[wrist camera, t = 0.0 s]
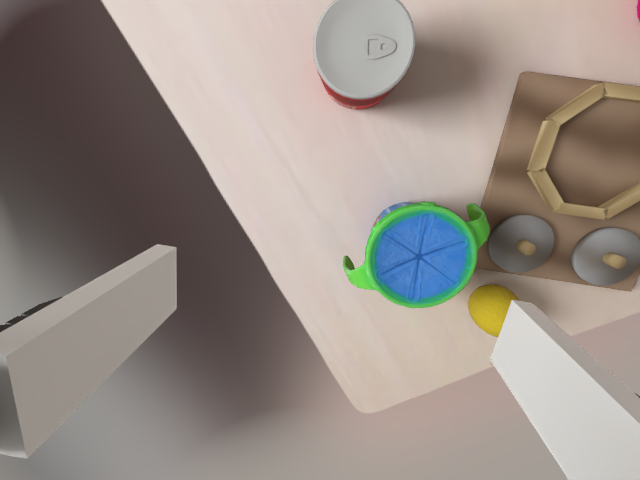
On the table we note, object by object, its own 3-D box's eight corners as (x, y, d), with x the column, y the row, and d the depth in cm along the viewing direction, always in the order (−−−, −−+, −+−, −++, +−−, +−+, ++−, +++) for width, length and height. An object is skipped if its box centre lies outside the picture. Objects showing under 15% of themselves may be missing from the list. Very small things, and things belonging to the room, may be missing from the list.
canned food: (402, 97, 36) (425, 80, 25) (333, 119, 37) (328, 112, 26) (386, 21, 33) (404, -32, 23) (313, 47, 35) (299, 8, 24)
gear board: (520, 73, 34) (539, 66, 31) (714, 98, 33) (754, 94, 30) (464, 263, 41) (474, 274, 37) (623, 287, 40) (649, 301, 37)
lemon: (510, 280, 41) (548, 313, 33) (493, 317, 43) (525, 355, 35) (469, 270, 41) (497, 299, 33) (453, 307, 43) (476, 343, 35)
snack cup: (456, 169, 37) (495, 180, 28) (475, 250, 40) (516, 286, 30) (330, 210, 40) (325, 233, 30) (355, 284, 43) (358, 326, 33)
